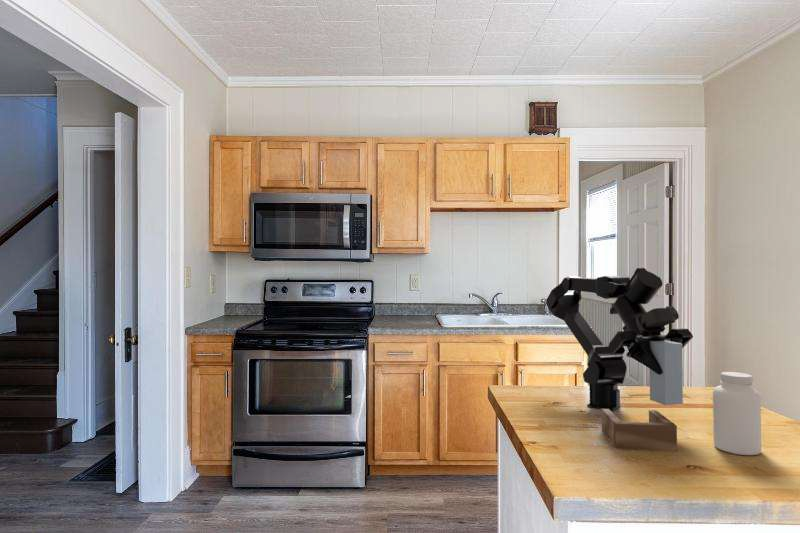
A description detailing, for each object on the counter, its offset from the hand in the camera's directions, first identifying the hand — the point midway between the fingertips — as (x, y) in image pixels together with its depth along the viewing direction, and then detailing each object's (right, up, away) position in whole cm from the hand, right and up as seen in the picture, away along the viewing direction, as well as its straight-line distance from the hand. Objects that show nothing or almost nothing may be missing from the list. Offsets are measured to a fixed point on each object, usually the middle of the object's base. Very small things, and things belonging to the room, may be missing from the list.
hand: (670, 372), depth 107 cm
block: (0, -7, +1) cm, 7 cm away
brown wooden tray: (-9, -14, -2) cm, 16 cm away
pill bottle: (+9, -14, -8) cm, 18 cm away
